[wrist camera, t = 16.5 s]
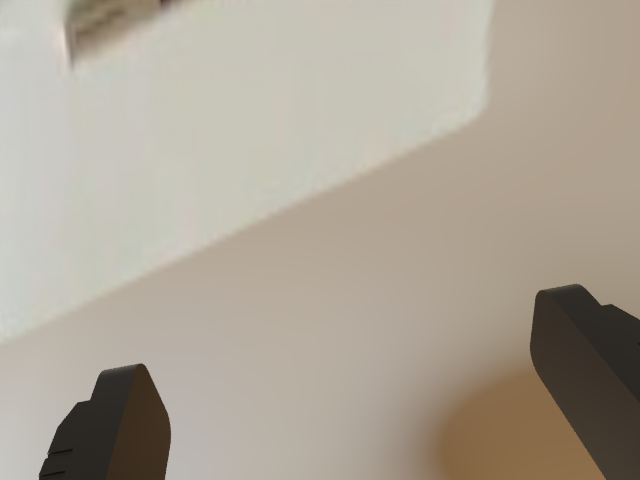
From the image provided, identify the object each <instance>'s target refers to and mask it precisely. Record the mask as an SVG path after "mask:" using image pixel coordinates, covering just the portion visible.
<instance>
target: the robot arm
mask: <svg viewBox="0 0 640 480" xmlns="http://www.w3.org/2000/svg"><path fill="white" fill-rule="evenodd" d="M530 351H531V357H532V361H533V364H534V367H535V370H536V372H537V374H538V375H539V377H540V379H541V380H542V382H543V383H544V385H545V386H546V388H547V389H548V391H549V392H550V394H551V395H552V397H553V399H554V400H555V401H556V403H557V405H558V406H559V408H560V409H561V411H562V412H563V414H564V415H565V417H566V418H567V420H568V422H569V423H570V425H571V426H572V428H573V429H574V431H575V432H576V434H577V435H578V437H579V438H580V440H581V441H582V443H583V445H584V446H585V448H586V449H587V451H588V452H589V454H590V455H591V457H592V458H593V460H594V461H595V463H596V465H597V466H598V468H599V469H600V471H601V472H602V474H603V475H604V477H605V478H606V480H640V320H639V319H637V318H636V317H634V316H632V315H630V314H628V313H627V312H625V311H623V310H621V309H619V308H617V307H616V306H614V305H612V304H609V305H604V306H601V305H600V304H599V303H598V302H597V300H596V299H595V298H594V297H593V296H592V295H591V294H590V293H589V292H588V291H587V290H586V289H585V288H584V287H583V286H581V285H579V284H573V285H568V286H562V287H557V288H551V289H546V290H541V291H539V292H538V293H537V295H536V299H535V307H534V315H533V324H532V332H531V342H530ZM170 442H171V429H170V422H169V417H168V413H167V411H166V409H165V406H164V404H163V402H162V400H161V398H160V396H159V393H158V391H157V389H156V387H155V385H154V383H153V381H152V378H151V376H150V374H149V372H148V370H147V368H146V366H145V365H143V364H135V365H130V366H124V367H119V368H113V369H108V370H104V371H102V372H101V373H100V375H99V377H98V379H97V382H96V385H95V388H94V391H93V393H92V397H91V399H90V400H89V401H84V402H78V403H77V404H76V405H75V406H74V408H73V409H72V410H71V411H70V413H69V414H68V415H67V416H66V418H65V419H64V420H63V421H62V423H61V424H60V425H59V426H58V428H57V431H56V433H55V436H54V439H53V441H52V443H51V446H50V449H49V451H48V453H47V454H48V458H47V459H45V461H44V463H43V466H42V468H41V471H40V473H39V480H165V474H166V468H167V461H168V456H169V450H170Z"/></svg>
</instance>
